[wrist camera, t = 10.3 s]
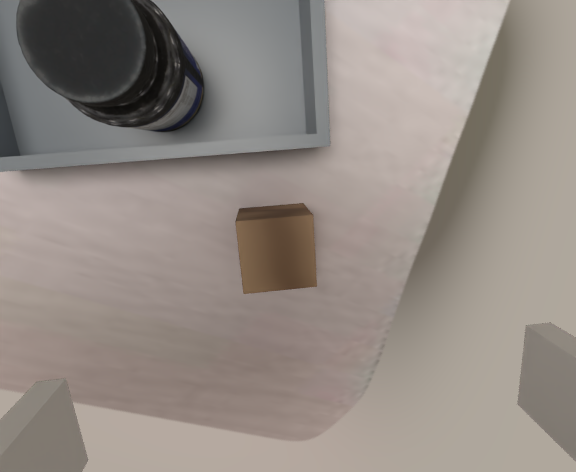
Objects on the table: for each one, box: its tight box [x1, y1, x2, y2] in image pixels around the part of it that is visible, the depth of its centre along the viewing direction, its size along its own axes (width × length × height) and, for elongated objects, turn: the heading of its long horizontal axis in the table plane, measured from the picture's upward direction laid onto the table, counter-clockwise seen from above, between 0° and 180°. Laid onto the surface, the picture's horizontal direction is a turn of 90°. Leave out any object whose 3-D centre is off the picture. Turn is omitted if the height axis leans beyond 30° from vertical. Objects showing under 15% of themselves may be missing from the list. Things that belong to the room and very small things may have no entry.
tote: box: [0, 0, 330, 172], centre depth 21 cm, size 22×17×5 cm
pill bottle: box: [16, 0, 204, 132], centre depth 18 cm, size 6×6×11 cm
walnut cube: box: [235, 203, 317, 294], centre depth 25 cm, size 5×5×5 cm
